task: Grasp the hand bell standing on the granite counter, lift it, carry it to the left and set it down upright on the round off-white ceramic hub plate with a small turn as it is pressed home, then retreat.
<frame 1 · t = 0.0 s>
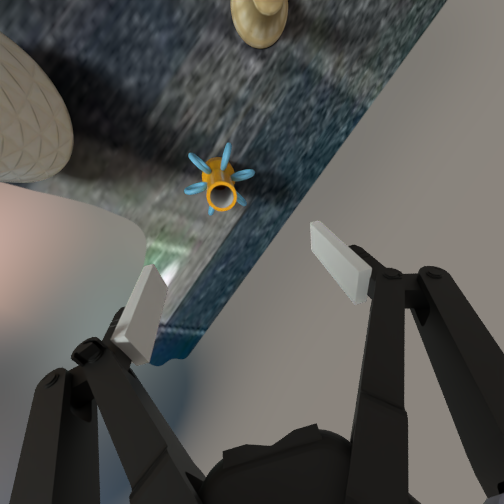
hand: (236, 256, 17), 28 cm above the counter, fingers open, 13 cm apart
vase: (28, 111, 31), on the counter
hand bell: (259, 9, 29), on the counter
cylinder: (218, 172, 40), on the counter
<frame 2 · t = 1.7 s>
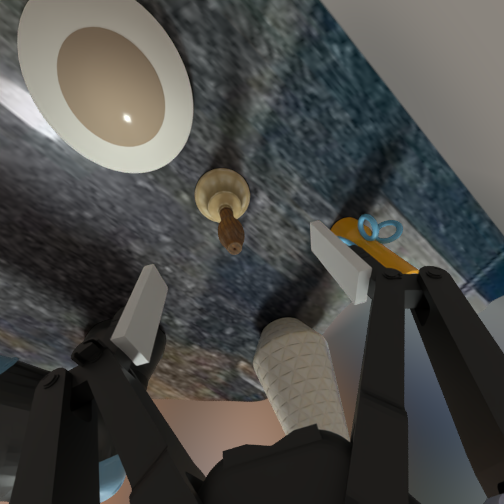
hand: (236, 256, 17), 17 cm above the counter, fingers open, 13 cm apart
hub plate: (120, 95, 23), on the counter
vase: (281, 331, 52), on the counter
hand bell: (222, 196, 31), on the counter
cylinder: (342, 230, 39), on the counter
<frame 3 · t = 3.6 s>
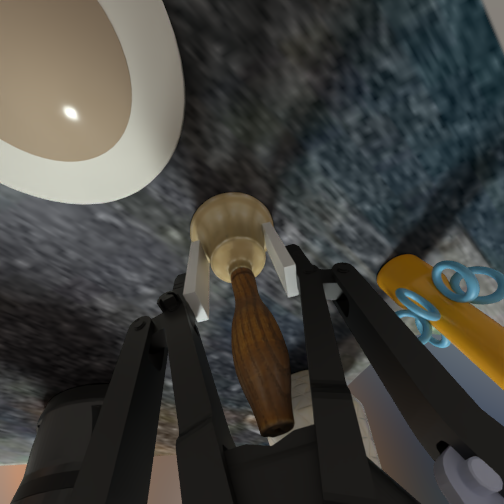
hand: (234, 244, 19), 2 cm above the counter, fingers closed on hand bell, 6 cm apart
hub plate: (48, 69, 12), on the counter
vase: (301, 382, 41), on the counter
hand bell: (232, 232, 21), on the counter, touching gripper
cylinder: (394, 270, 28), on the counter
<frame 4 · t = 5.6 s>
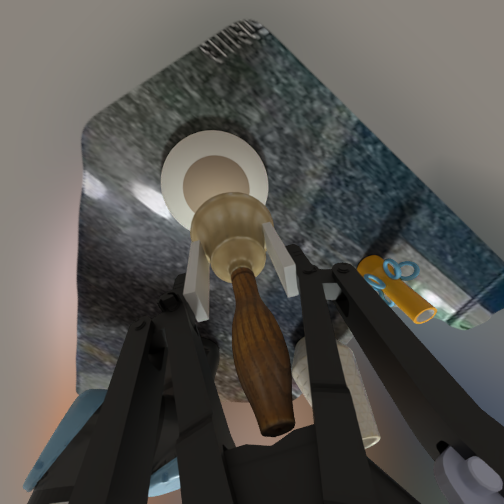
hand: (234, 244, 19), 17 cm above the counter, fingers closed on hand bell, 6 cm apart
hub plate: (216, 188, 32), on the counter
vase: (312, 343, 61), on the counter
hand bell: (232, 232, 21), point 15 cm above the counter, touching gripper
cylinder: (367, 264, 48), on the counter
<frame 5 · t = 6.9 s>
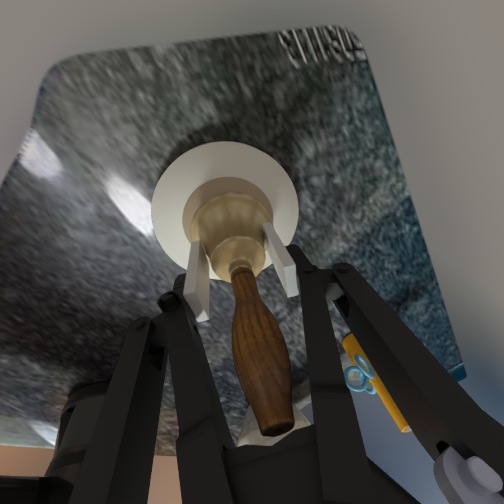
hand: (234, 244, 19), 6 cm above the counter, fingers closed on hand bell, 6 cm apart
hub plate: (228, 218, 24), on the counter
vase: (268, 403, 53), on the counter
hand bell: (232, 231, 21), point 4 cm above the counter, touching gripper
cylinder: (354, 337, 43), on the counter
when the fingers open (5 cm above the counter, at t = 7.7 s): hand bell drops 1 cm, resting on hub plate.
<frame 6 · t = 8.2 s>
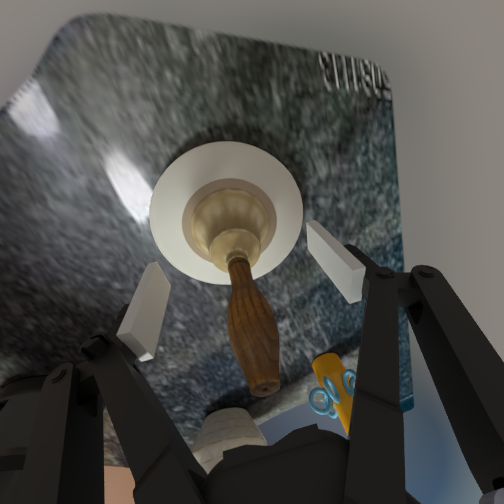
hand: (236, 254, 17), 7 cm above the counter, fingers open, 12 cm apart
hub plate: (230, 221, 23), on the counter
vase: (226, 416, 51), on the counter
hand bell: (230, 226, 22), point 1 cm above the counter, touching hub plate
cylinder: (324, 359, 44), on the counter
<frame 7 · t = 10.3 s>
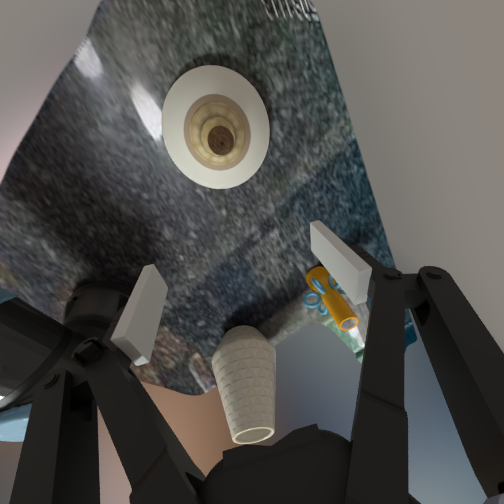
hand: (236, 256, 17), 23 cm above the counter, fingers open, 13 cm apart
hub plate: (217, 135, 32), on the counter
vase: (241, 336, 61), on the counter
hand bell: (217, 135, 31), point 1 cm above the counter, touching hub plate
cylinder: (316, 274, 52), on the counter
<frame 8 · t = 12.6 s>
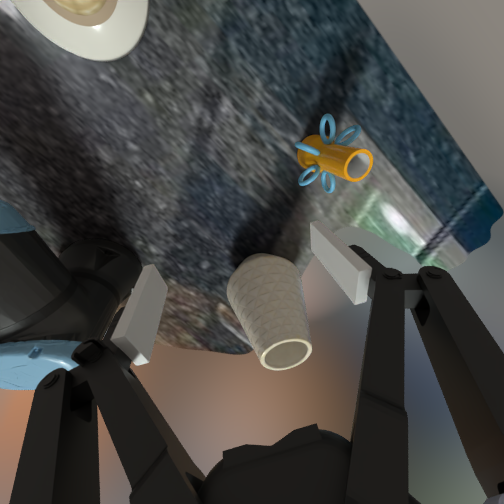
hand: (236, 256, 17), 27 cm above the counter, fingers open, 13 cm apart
vase: (258, 270, 53), on the counter
cylinder: (310, 152, 39), on the counter
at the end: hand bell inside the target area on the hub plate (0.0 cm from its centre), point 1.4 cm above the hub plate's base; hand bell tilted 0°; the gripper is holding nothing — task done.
